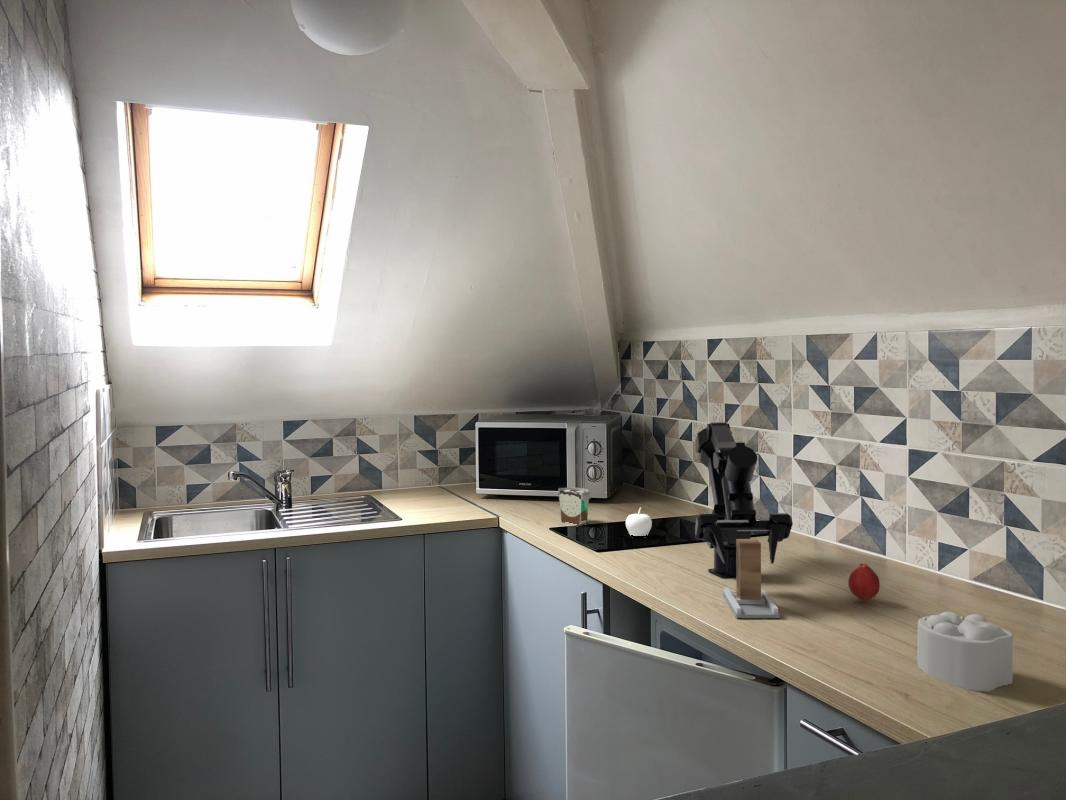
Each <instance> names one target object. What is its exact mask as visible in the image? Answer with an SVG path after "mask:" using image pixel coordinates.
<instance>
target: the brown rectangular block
mask: <svg viewBox="0 0 1066 800" xmlns="http://www.w3.org/2000/svg"><path fill="white" fill-rule="evenodd" d="M735 577H736V580H735V581H736V584H735V585H736V586H735V587H736V589H735V590H736V591H735V592H736V593H732V595H733V596H734V598H735V599H736V601H737V603H738V604H765V599H764V598H763V596H762V595H761V588H762V544H761V541H759V539H757V538H750V539H736V576H735Z"/></svg>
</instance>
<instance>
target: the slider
mask: <svg viewBox="0 0 1066 800" xmlns="http://www.w3.org/2000/svg"><path fill="white" fill-rule="evenodd" d="M723 590H724V591H722V597H723V599H724V601H725V602H726V604H727V603H728V604H727V605H728V607H729V609H730V608H731V609H730V610H731V612H732V611H733V612H732V614H733V613H734V614H733V616H734V615H735V616H736V617H735V616H734V617H735V618H780V619H781V614H780V613H779V607H778V606H777V605H776V604H775V602H774V601H773V600H772V599H771V597H770V596H769V595H768V594H767V592H766V591H765V590H764V589H763V587H761V595H762V596H763V598H764V599H765V604H738V603H737V601H736V599H735V598H734V596H733V595H732V593H736V591H731V590H730V588H729V587H724V588H723Z"/></svg>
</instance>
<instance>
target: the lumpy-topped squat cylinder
mask: <svg viewBox="0 0 1066 800" xmlns="http://www.w3.org/2000/svg"><path fill="white" fill-rule="evenodd" d="M916 655H917V658H916V659H917V664H916V665H918V666H917V668H918V667H919V668H918V670H920V669H921V670H922V671H923V672H925V673H926V674H928V675H930V676H932V677H935V678H937V679H940V680H942V681H945V682H948V683H951V684H954V685H957V686H959V687H958V688H960V687H962V688H961V689H963V688H964V690H967V691H974V692H981V691H982V692H983V691H986V692H991V690H992V691H994V690H996V689H998V688H1000V687H1003V686H1002V685H1005V686H1008V684H1009V685H1011V684H1012V683H1013V680H1014V679H1013V674H1014V673H1013V672H1014V671H1013V669H1014V668H1013V667H1014V635H1013V633H1012V632H1010V631H1009V630H1007V629H1005V628H1002V627H1000V626H999V625H996V624H994V623H993V622H992V623H991V622H989V621H988V620H987V618H985V616H983V615H981V614H977V613H973V614H969V615H967V616H965V617H964V616H960V615H958V614H957V613H955V612H952V611H943V612H941V613H940V614H931V615H930V616H929V615H926V616H923V617H921V618H919V619H918V620H917V654H916ZM921 670H920V671H921ZM922 671H921V672H922ZM923 672H922V673H923ZM926 674H925V675H926ZM942 681H941V682H942ZM957 686H956V687H957ZM999 686H1000V687H999ZM997 687H998V688H997ZM995 688H996V689H995Z"/></svg>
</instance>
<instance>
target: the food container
mask: <svg viewBox="0 0 1066 800" xmlns="http://www.w3.org/2000/svg"><path fill="white" fill-rule="evenodd" d="M557 496H558V500H559V501H558V502H559V513H560V522H561V521H563V522H569V523H573V524H577V525H585V524H587V525H588V518H589V517H588V515H589V501H590V499H592V497H591V496H592V495H591V492H590V490H589V489H587V488H584V487H583V488H582V487H559V488H558V491H557ZM563 522H562V523H563Z"/></svg>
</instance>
